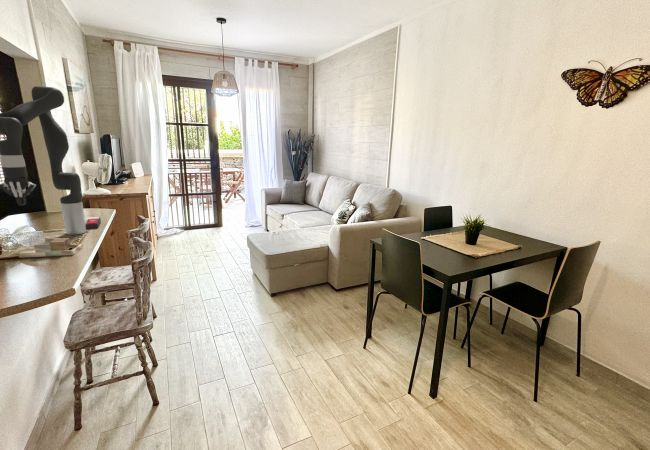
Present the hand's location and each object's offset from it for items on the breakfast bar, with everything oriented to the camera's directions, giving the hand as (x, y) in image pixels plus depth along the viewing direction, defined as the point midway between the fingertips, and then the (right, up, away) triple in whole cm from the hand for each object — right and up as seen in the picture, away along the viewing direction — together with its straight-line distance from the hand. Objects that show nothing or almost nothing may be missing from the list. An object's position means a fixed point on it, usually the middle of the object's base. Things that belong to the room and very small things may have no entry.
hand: (22, 205), depth 142 cm
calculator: (-7, -10, +50) cm, 52 cm away
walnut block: (+12, -20, +6) cm, 24 cm away
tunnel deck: (+9, -22, +6) cm, 24 cm away
